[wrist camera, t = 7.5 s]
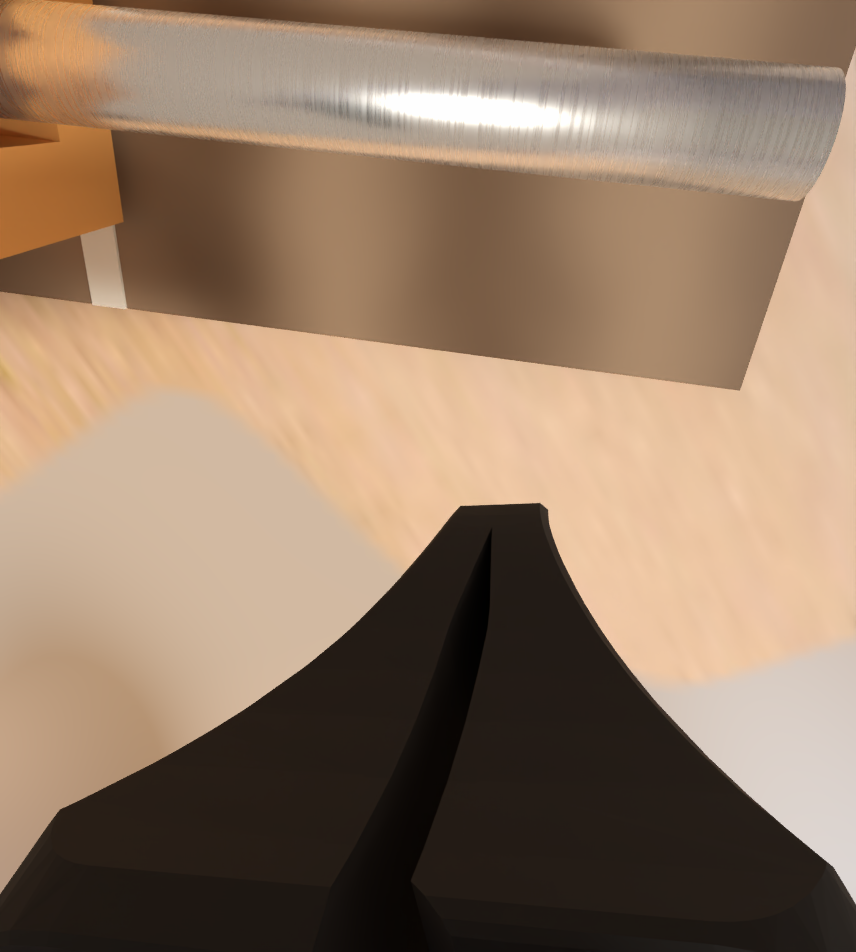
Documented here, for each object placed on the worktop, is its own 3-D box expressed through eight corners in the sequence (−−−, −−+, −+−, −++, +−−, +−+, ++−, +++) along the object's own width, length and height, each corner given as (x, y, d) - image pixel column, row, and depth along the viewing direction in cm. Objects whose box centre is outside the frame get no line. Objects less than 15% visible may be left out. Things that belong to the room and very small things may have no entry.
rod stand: (931, -237, 12) (1280, -541, 6) (731, 376, 18) (814, 514, 12) (-305, -285, 15) (-875, -531, 9) (-126, 263, 21) (-396, 331, 15)
